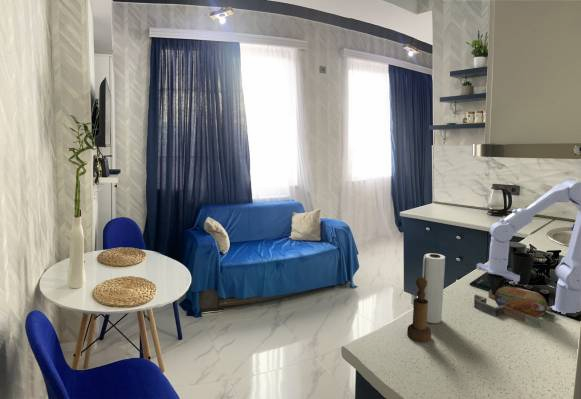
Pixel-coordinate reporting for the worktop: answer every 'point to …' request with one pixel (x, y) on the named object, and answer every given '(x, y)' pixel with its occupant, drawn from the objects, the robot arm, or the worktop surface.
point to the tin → (521, 300)
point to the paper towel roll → (434, 285)
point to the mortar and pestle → (420, 315)
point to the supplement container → (515, 250)
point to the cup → (522, 266)
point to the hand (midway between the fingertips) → (495, 294)
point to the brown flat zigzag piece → (511, 311)
